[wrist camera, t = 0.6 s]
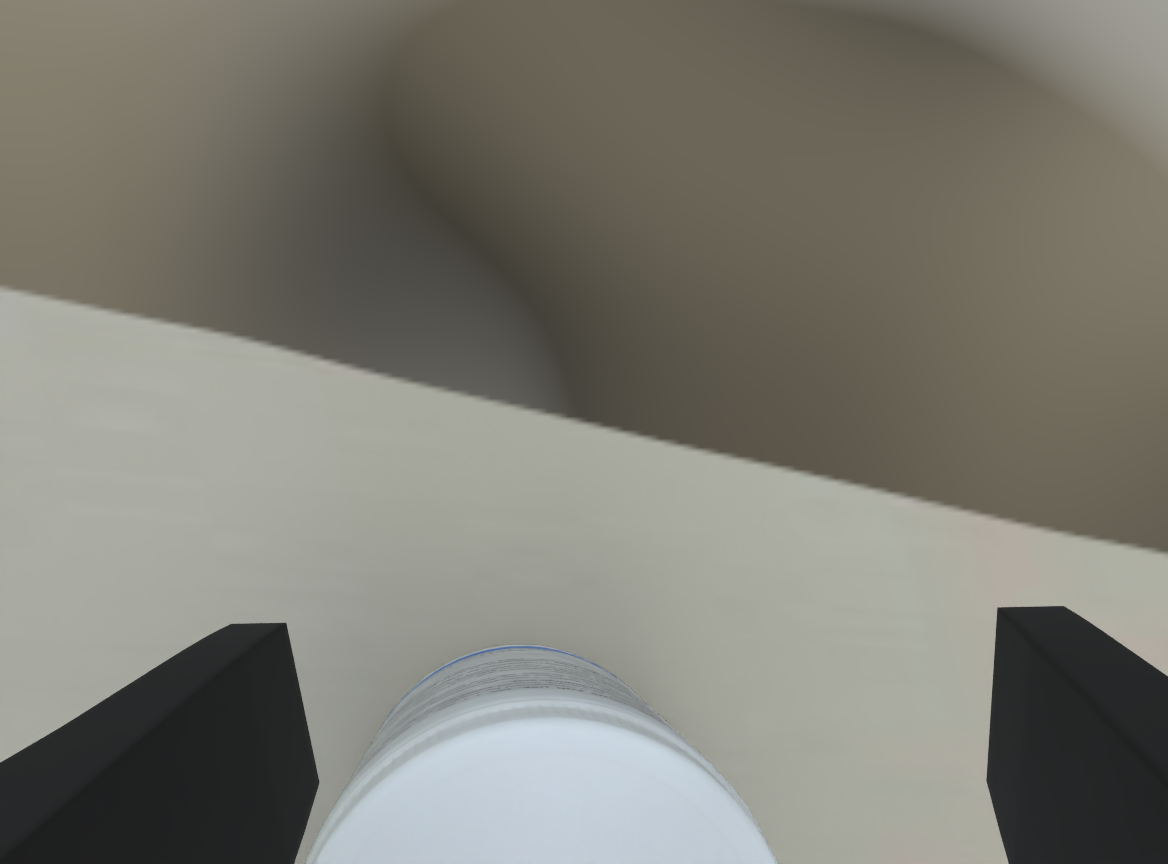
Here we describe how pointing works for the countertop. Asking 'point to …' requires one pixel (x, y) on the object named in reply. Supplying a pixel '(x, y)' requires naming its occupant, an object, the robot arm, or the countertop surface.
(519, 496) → the countertop surface
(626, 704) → the supplement tub
